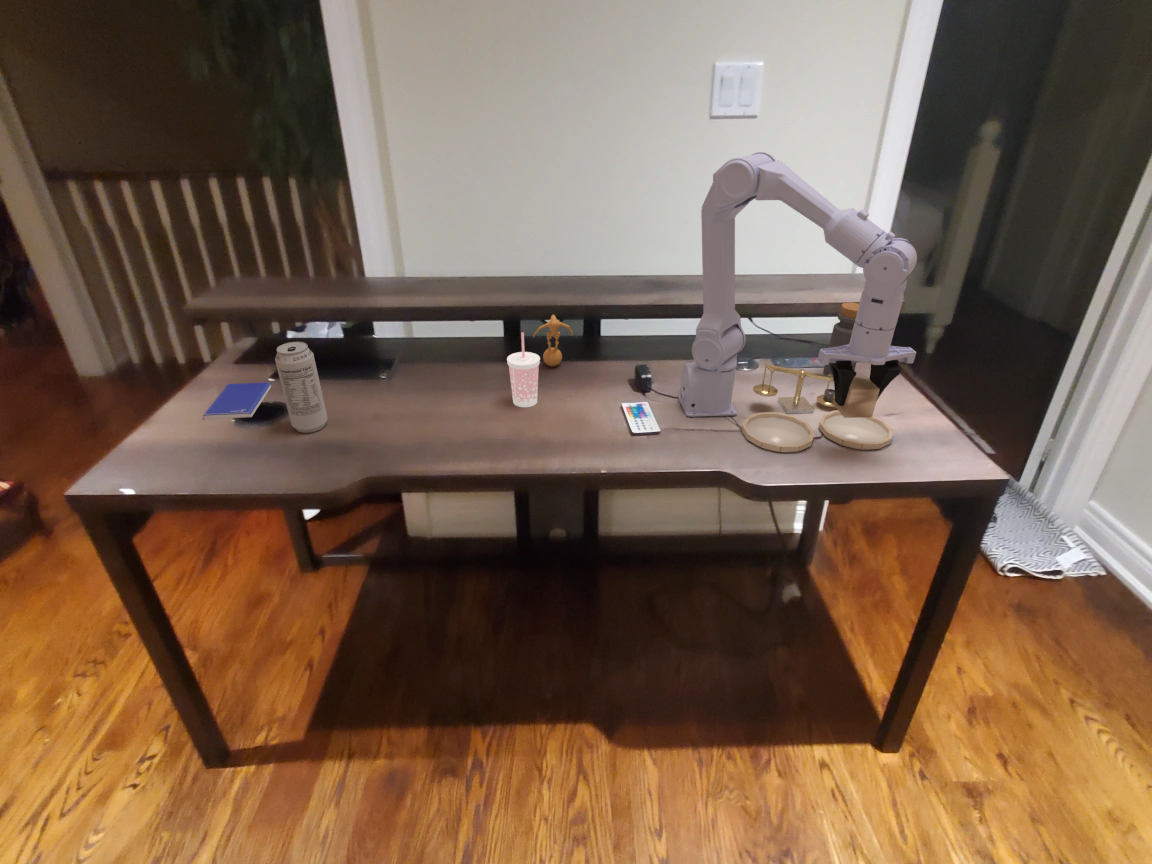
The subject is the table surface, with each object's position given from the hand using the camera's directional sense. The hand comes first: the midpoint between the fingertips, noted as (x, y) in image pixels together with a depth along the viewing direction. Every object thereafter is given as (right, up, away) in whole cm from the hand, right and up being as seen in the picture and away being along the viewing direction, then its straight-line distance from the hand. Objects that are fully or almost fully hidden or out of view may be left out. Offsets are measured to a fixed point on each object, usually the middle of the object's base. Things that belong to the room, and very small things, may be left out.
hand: (854, 402), depth 103 cm
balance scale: (-4, 0, +17) cm, 18 cm away
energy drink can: (-92, -4, +10) cm, 93 cm away
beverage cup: (-55, +1, +18) cm, 58 cm away
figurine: (-50, +9, +32) cm, 60 cm away
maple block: (0, -1, +1) cm, 1 cm away
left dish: (-10, -5, +8) cm, 14 cm away
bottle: (+9, +7, +30) cm, 32 cm away
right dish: (+4, -5, +9) cm, 11 cm away
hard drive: (-109, 0, +18) cm, 110 cm away
